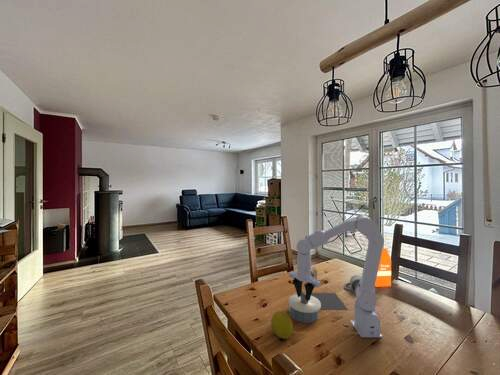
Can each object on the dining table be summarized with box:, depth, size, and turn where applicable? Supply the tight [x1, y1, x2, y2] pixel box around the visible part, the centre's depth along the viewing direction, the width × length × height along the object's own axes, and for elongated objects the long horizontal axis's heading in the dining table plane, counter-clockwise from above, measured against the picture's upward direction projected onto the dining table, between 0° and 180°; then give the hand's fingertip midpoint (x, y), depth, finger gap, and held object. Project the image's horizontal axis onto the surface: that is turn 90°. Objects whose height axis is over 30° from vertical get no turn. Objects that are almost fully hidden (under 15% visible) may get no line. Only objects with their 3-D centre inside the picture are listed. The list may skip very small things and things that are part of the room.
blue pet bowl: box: [288, 305, 320, 324], centre depth 95 cm, size 12×12×5 cm
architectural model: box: [311, 267, 318, 280], centre depth 130 cm, size 3×7×7 cm, turn 2°
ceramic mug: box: [343, 274, 362, 293], centre depth 118 cm, size 11×8×8 cm
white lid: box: [288, 291, 321, 313], centre depth 95 cm, size 14×14×4 cm
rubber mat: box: [311, 292, 349, 311], centre depth 106 cm, size 15×15×1 cm
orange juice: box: [375, 247, 392, 288], centre depth 125 cm, size 8×9×20 cm
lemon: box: [270, 310, 294, 340], centre depth 83 cm, size 11×8×8 cm
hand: (303, 298), depth 95 cm, fingers open, 4 cm apart
